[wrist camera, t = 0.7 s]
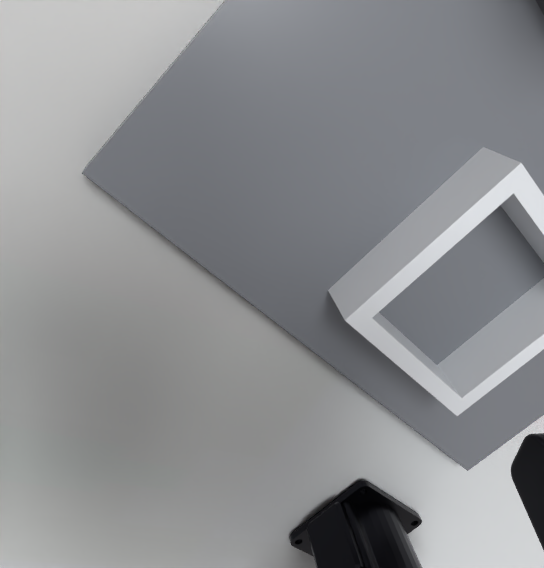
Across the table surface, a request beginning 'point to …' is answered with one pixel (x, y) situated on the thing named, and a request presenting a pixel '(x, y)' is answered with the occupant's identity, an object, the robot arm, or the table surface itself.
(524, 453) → the robot arm
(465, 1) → the panel
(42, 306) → the table surface
